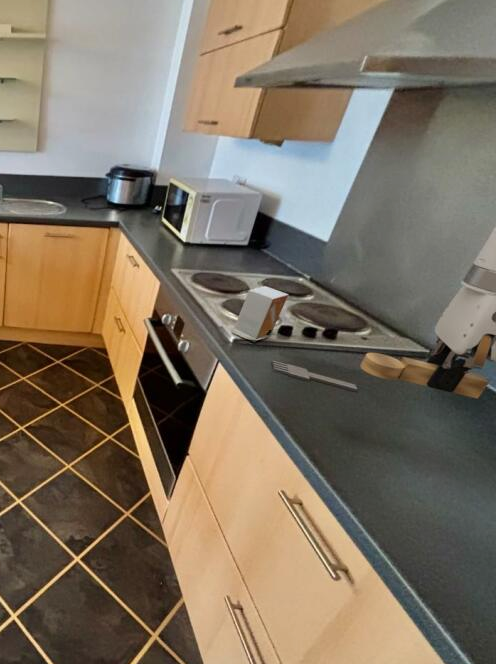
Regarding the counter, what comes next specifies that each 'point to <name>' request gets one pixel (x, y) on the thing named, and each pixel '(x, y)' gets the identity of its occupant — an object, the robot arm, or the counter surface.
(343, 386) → the serving fork
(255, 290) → the small box
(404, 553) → the counter surface
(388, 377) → the wooden spoon
